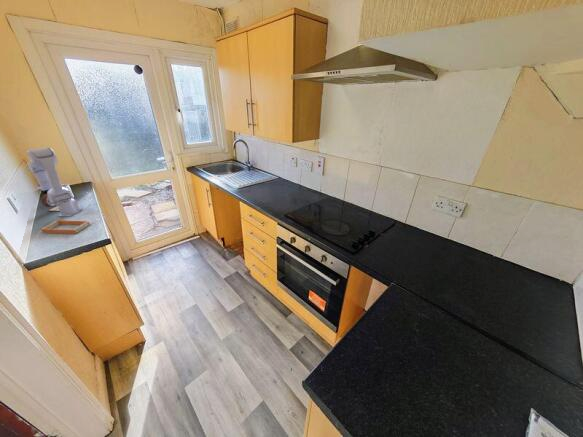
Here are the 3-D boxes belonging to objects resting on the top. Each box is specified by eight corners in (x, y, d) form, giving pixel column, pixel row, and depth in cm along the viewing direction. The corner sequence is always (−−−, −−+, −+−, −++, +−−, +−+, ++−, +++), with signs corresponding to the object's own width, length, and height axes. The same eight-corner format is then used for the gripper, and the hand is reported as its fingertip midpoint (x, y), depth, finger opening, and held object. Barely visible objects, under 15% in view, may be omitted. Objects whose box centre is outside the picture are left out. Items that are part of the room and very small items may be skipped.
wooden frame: (59, 223, 138) (57, 220, 137) (90, 224, 138) (88, 221, 137) (43, 232, 129) (40, 229, 128) (75, 233, 129) (73, 230, 128)
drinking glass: (76, 195, 174) (70, 183, 169) (71, 199, 169) (65, 186, 164) (66, 196, 173) (60, 184, 168) (61, 200, 167) (54, 187, 162)
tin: (66, 199, 161) (59, 188, 157) (70, 199, 161) (63, 188, 157) (45, 208, 148) (37, 197, 144) (50, 208, 148) (42, 196, 144)
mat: (59, 205, 159) (59, 205, 159) (70, 205, 159) (70, 205, 159) (48, 210, 152) (48, 210, 152) (60, 211, 152) (60, 210, 152)
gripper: (27, 183, 143) (39, 202, 149) (50, 183, 143) (60, 202, 149) (38, 179, 149) (48, 198, 155) (60, 179, 149) (70, 198, 155)
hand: (55, 199), depth 153 cm, fingers closed on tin, 2 cm apart
